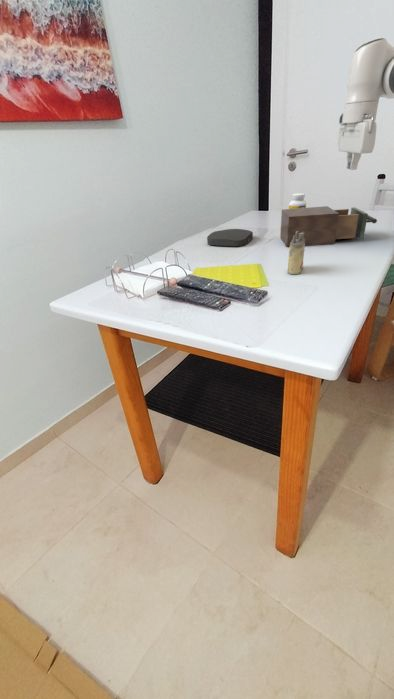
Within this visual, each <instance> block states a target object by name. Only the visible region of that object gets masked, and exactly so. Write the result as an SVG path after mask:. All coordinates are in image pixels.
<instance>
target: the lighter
mask: <svg viewBox="0 0 394 699" xmlns="http://www.w3.org/2000/svg"><path fill="white" fill-rule="evenodd" d="M298 235H299V236H298ZM304 241H305V239H304V232H301V233H299V231H296V234H295V235H294V236H293V240H292V241H291V243H290V247H288V261H287V271H286V272H287V274H289V275H299V274H301V272H302V270H303V269H304V258H305V257H304V256H305V248H306V246H305V243H304Z"/></svg>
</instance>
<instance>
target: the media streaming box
mask: <svg viewBox="0 0 394 699" xmlns="http://www.w3.org/2000/svg"><path fill="white" fill-rule="evenodd" d="M253 237H254V233H253V231H252V230H249V229H244V228H228V229H221V230H215V231H213V232H211V233H209V235H207V237H206V242H207V244H208V245H210V246H217V247H218V246H219V247H223V246H224V247H242V246H244V245H247V244H248V243H249V242H250V241H251V240H252V239H253Z"/></svg>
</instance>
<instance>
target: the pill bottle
mask: <svg viewBox="0 0 394 699" xmlns="http://www.w3.org/2000/svg"><path fill="white" fill-rule="evenodd" d="M291 195H292V196H291V199H292V200H291V201H289V204H288V209H297V208H307V202H306V200H305V197H306V194H305V193H303V192H297V193H292V194H291Z"/></svg>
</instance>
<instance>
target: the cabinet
mask: <svg viewBox="0 0 394 699" xmlns="http://www.w3.org/2000/svg"><path fill="white" fill-rule="evenodd" d="M334 210H335V209H333V208H331V207H329V205H328V206H326V205H325V206H324V205H323V206H311V207H306V208H297V209H289V208H284V209H281V220H280V235H279V237H280V239H281V241H282V242H283V244H284V246H286V248H289V247H290V243H291V241H292V240H293V236H294V235H295V234H296V231H299V233H301V232H304V239H305V241H304V243H305V247H309V246H310V247H312V246H325V245H335V244H336V240H337V239H336V232H337V225H338V218H339V213H338V212H336V211H334ZM298 236H299V235H298Z"/></svg>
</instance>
